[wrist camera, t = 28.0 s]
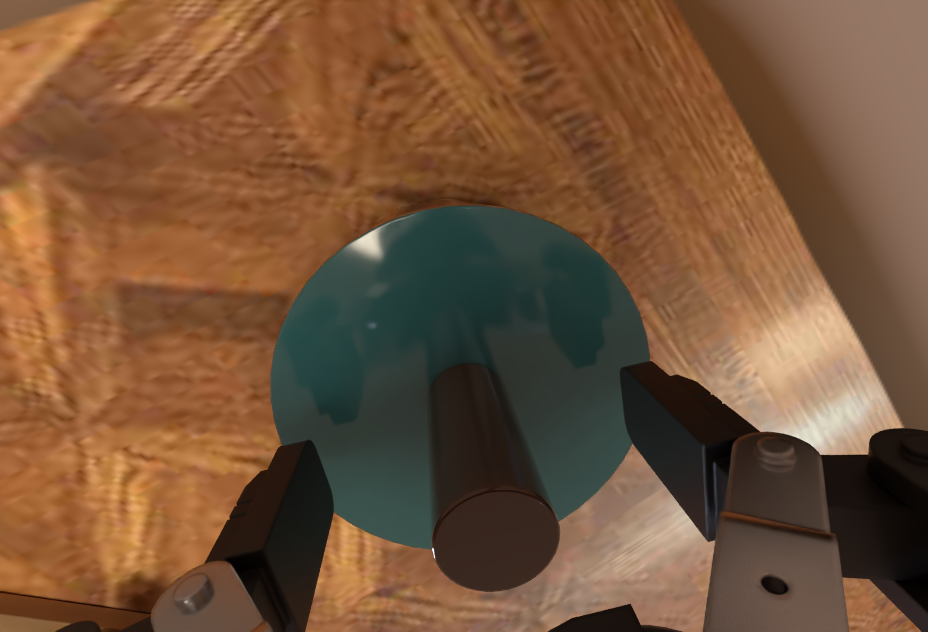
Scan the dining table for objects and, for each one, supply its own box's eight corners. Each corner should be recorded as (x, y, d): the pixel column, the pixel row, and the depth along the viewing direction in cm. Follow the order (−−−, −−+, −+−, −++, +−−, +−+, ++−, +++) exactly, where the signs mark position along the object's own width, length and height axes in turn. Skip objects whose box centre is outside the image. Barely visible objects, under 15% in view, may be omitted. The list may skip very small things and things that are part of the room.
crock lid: (224, 251, 13) (42, 332, 7) (616, 163, 13) (796, 162, 7) (341, 558, 16) (294, 799, 10) (648, 485, 17) (785, 675, 11)
